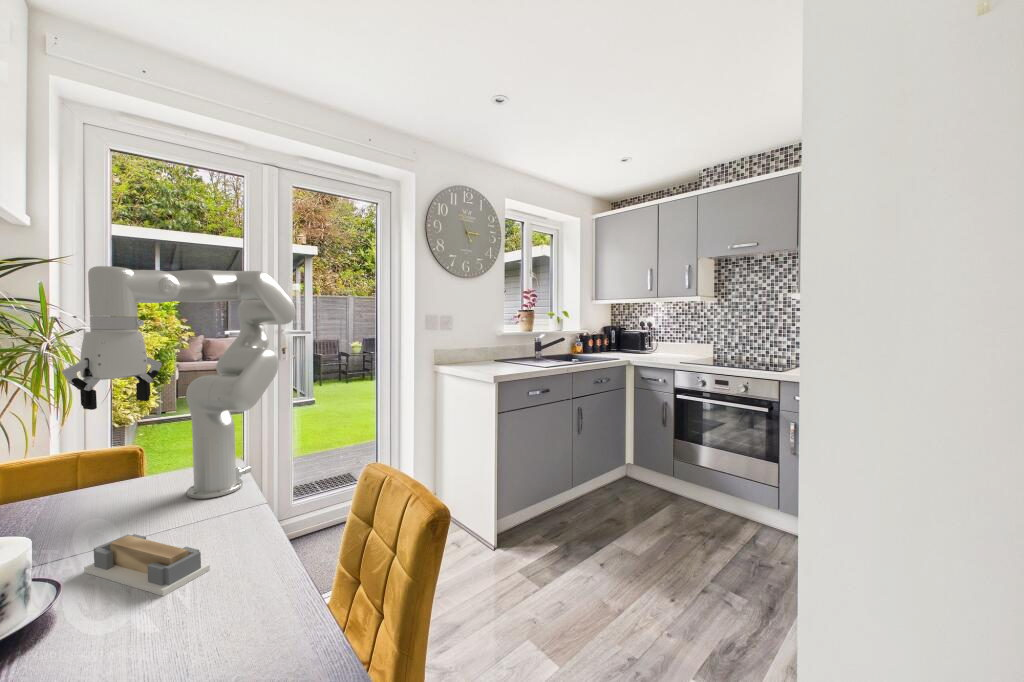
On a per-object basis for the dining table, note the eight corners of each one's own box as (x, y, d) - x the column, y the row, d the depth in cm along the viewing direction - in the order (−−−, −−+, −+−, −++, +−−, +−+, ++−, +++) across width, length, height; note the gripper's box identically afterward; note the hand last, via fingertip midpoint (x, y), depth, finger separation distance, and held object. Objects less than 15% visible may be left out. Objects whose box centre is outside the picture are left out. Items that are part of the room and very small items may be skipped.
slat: (129, 555, 83) (128, 535, 83) (188, 571, 78) (187, 549, 78) (111, 563, 80) (110, 543, 80) (171, 580, 75) (170, 558, 75)
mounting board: (134, 550, 87) (133, 531, 87) (209, 570, 80) (209, 549, 80) (84, 572, 79) (83, 551, 79) (163, 596, 73) (162, 573, 72)
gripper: (147, 324, 101) (150, 396, 102) (49, 325, 84) (53, 411, 85) (170, 325, 99) (172, 398, 99) (73, 326, 82) (77, 414, 83)
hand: (117, 404), depth 92 cm, fingers open, 9 cm apart
